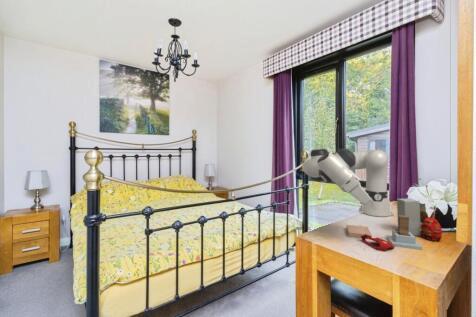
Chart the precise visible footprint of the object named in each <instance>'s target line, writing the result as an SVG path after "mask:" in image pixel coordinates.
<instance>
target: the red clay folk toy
mask: <svg viewBox="0 0 476 317" xmlns="http://www.w3.org/2000/svg"><path fill="white" fill-rule="evenodd" d="M436 206H437V204H435V205H434V206H430V207H429V209H430V210H431V209H433V212H432V217H431V218H429V217H425V218H424V221H423V222H422V223H421V236H420V237H422V238H424V239H427V240H428V241H430V242H437V241H441V240H442V236H443V231H442V227H441V223H439V221H438V220H437V219H436V218H435V215H436V213H435V212H436Z"/></svg>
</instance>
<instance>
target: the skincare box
mask: <svg viewBox="0 0 476 317" xmlns="http://www.w3.org/2000/svg"><path fill="white" fill-rule="evenodd" d="M420 205H421V202H420V201H419V200H416V199H413V198H396V210H397V221H398V220H399V215H401V216H408V217H409V232H410V233H411V234H412V235H413V236H414V237H416V236H417V237H421V225H422V223H421V206H420Z"/></svg>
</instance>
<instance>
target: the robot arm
mask: <svg viewBox="0 0 476 317" xmlns="http://www.w3.org/2000/svg"><path fill="white" fill-rule="evenodd" d="M388 156H389V155H388V154H387V153H386V152H385V151H384V150H381V149H372V150H362V151H353V152H352V151H351V150H349V149H348V148H339V149H338V150H337V151H335V152H329V151H328V150H327V149H326V148H323V147H315V148H314V149H311V151H310V158H308V159H306V160H305V161H304V162H303V163H302V166H301V167H302V171H303V172H304V173H305V174H306V175H307V176H309V177H311V178H313V179H314V181H315V182H319V183H326V184H333V183H335V185H336V186H337V187H338V188H339V189H340V190H341V191H342V192H343V193H347V194H349V195H351V196H353V197H354V198H355V199H356V200H357V201H358V202H359V203H360V205H361V206H359V209H358V213H360V214H364V213H365V215H368V216H372V217H373V216H374V217H389V216H394V213H393V212H391V201H390V199H388V196H389V194H388V190H387V189H388V173H389V172H388V168H389V157H388ZM363 169H365V171H366V172H365V174H366V178H365V189H364V188H363V187H362V185H361V182H360V179H361V178H360V177H359V176H358V175H357V174H356V173H355V172H354V171H355V170H363ZM352 170H353V171H352Z"/></svg>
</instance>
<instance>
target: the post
mask: <svg viewBox="0 0 476 317" xmlns="http://www.w3.org/2000/svg"><path fill="white" fill-rule="evenodd" d="M397 231H398V234H399V235H404V236H408V235H409V217H408V216H401V215H399V220H398V219H397Z"/></svg>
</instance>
